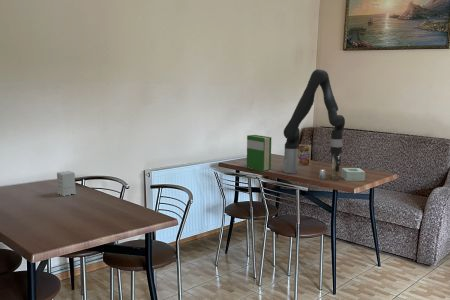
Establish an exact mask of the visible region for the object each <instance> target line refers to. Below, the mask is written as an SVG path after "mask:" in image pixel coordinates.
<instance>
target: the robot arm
mask: <svg viewBox="0 0 450 300" xmlns="http://www.w3.org/2000/svg"><path fill="white" fill-rule="evenodd" d="M319 86H320V88H321V90H322V95H323V96H322V97H323V102H324V103H323V104H324V106H325V108H326V110H327V115H328V116H327V117H328V121H329V124H330V125H331V126H332V127H334V128H333V129H332V130H331V133H330V147H329V149H330V151H329V152H330V154H331V155H330V156H331V158H330V159H331V160H330V161H331V163H332V158H333V159H334V163H335V165H336V167H335V171H336V172H338V173H339V172H340V166H341V165H342V163H341V158H342V157H341V156H340V154H343V132H344V128H345V125H346V124H345V123H346V119H345V117H344V116H343V115H341V114H338V111H339V107H338V103H337V101H336V99H335V96H334V94H333V93H334V92H333V90H332V89H333V88H332V86H331V81H330V76H329V73H328V71H326V70H323V69H315V70H313V71H312V73H311V75H310V77H309V79H308V81H307V85H306V88H305V89H304V91H303V93H302V94H301V97H300V99H299V101H298V102H297V105H296V107H295V109H294V111H293V113H292V116H291V118H290V119H289V121H288V123H287V124H286V126H285V127H284V129H283V136H284V138H285V139H286V142H285V143H284V151H283V152H284V153H283V154H284V158H283V167H282V168H283V173H284V174H297V173H298V151H299V145H300V135H301V134H300V128H299V126H300V124H301V123H302V121H303V120H304V119H305V118H306V116H308V114H309V113H310V111H311V109H312V106H313V105H314V102H315V96H316V92H317V90H318V88H319ZM337 163H338V164H337Z"/></svg>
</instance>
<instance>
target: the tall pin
mask: <svg viewBox="0 0 450 300" xmlns="http://www.w3.org/2000/svg"><path fill="white" fill-rule="evenodd" d="M337 164H338V163H337ZM335 167H336V165H335V163H334V159H333V158H332V162H331V180H338V178H339V172H336V171H335Z"/></svg>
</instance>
